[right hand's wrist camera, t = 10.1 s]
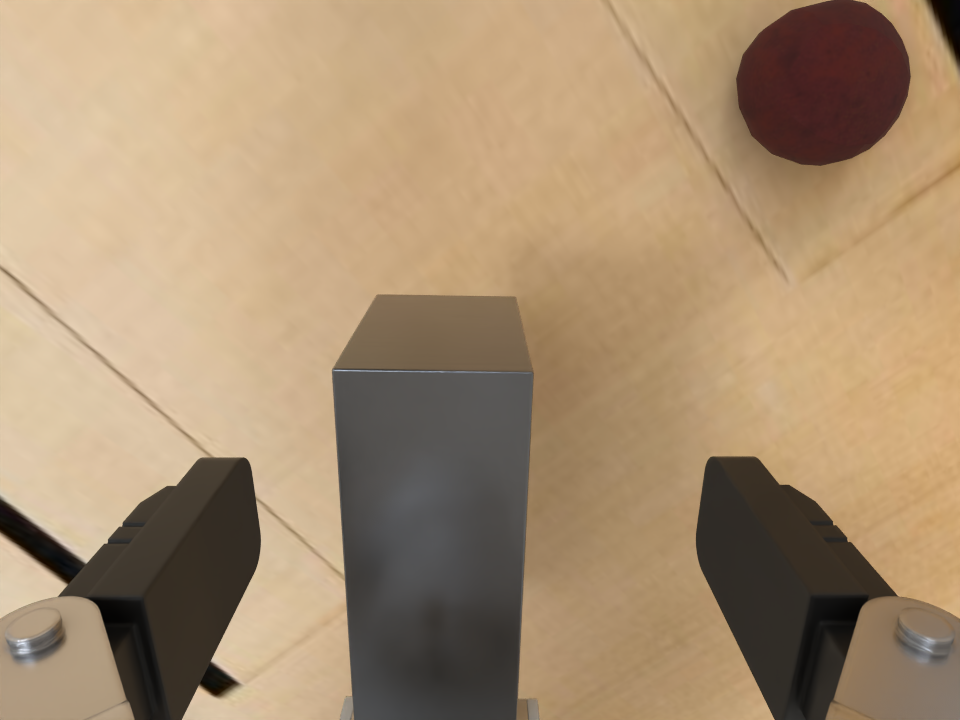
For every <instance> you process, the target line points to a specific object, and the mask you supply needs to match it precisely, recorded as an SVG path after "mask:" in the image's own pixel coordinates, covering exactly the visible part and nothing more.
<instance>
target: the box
mask: <svg viewBox="0 0 960 720" xmlns="http://www.w3.org/2000/svg"><path fill="white" fill-rule="evenodd" d="M533 378H534V373H533V368H532V364H531V360H530V355H529V351H528V347H527V342H526V338H525V334H524V329H523V325H522V321H521V316H520V312H519V308H518V303H517V299H516V297H499V296H438V295H376V297H375V298H374V300H373V302H372V304H371V305H370V307H369V309H368V310H367V312H366V314H365V315H364V317H363V319H362V320H361V322H360V324H359V325H358V327H357V329H356V330H355V332H354V334H353V335H352V337H351V339H350V340H349V342H348V344H347V345H346V347H345V349H344V350H343V352H342V354H341V355H340V357H339V359H338V361H337V362H336V364H335V366H334V367H333V369H332V380H333V396H334V412H335V428H336V444H337V460H338V476H339V492H340V508H341V523H342V539H343V555H344V571H345V587H346V603H347V619H348V635H349V651H350V667H351V683H352V699H353V715H354V720H517V704H518V683H519V663H520V643H521V622H522V602H523V581H524V561H525V541H526V520H527V500H528V480H529V459H530V439H531V418H532V398H533Z"/></svg>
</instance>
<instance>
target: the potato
mask: <svg viewBox="0 0 960 720" xmlns="http://www.w3.org/2000/svg"><path fill="white" fill-rule="evenodd" d="M910 77H911V76H910V66H909V57H908V54H907V52H906V49H905V46H904V44H903V41H902V39H901V37H900V36H899V34H898V32H897V31H896V29H895V28H894V26H893V24H892V23H891V22H890V21H889V20H888V19H887V18H886V17H885V16H884V15H882V14H881V13H880V12H878V11H877V10H875V9H874V8H872V7H871V6H869V5H868V4H866V3H863V2H858V1H854V0H831V1H826V2H822V3H818V4H814V5H810V6H806V7H802V8H798V9H794V10H791V11H790V12H788V13H787V14H785V15H784V16H782V17H781V18H780V19H778V20H777V21H775V22H774V23H772V24H771V25H769V26H768V27H767V28H765V29H764V30H763V31H762V32H760V33H759V34H758V36H757V37H756V38H755V40H754V41H753V42H752V44H751V45H750V46H749V47H748V49H747V50H746V51H745V53H744V54H743V56H742V60H741V64H740V67H739V71H738V74H737V78H736V80H737V91H738V102H739V108H740V110H741V112H742V115H743V117H744V119H745V121H746V124H747V126H748V128H749V130H750V133H751V135H752V136H753V137H754V138H755V139H756V140H757V141H758V142H759V143H760V144H762V145H763V146H764V147H765V148H766V149H767V150H768V151H769V152H770V153H772V154H774V155H776V156H779V157H782V158H785V159H788V160H791V161H794V162H796V163H799V164H804V165H819V166H821V165H826V164H830V163H834V162H839V161H843V160H847V159H850V158H853V157H855V156H857V155H859V154H861V153H863V152H864V151H866V150H868V149H870V148H871V147H872V146H873V145H874V144H876V143H877V142H878V141H879V140H880V139H881V138H882V137H884V136H885V135H886V133H887V132H888V131H889V129H890V128H891V127H892V125H893V124H894V123H895V121H896V120H897V119H898V117H899V115H900V113H901V110H902V108H903V106H904V103H905V101H906V98H907V96H908V90H909V83H910Z"/></svg>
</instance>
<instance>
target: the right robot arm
mask: <svg viewBox="0 0 960 720" xmlns="http://www.w3.org/2000/svg"><path fill="white" fill-rule="evenodd" d="M260 546H261V535H260V527H259V519H258V512H257V505H256V498H255V491H254V484H253V477H252V470H251V466H250V463H249V461H248V460H247V459H246V458H200V459H198V460H197V461H196V463H195V464H194V465H193V466H192V468H191V469H190V470H189V471H188V472H187V474H186V475H185V476H184V477H183V479H182V480H181V481H180V482H179V483H178V485H177V486H166V487H165V488H163V489H162V490H160V491H159V492H157V493H155V494H154V495H152V496H151V497H149V498H147V499H146V500H144V501H143V502H141V503H140V504H139V505H138V506H137V507H136V508H135V509H134V511H133V512H132V513H131V514H130V515H129V516H128V517H127V518H126V520H125V521H124V522H123V526H122V527H119V528H118V529H117V530H116V531H115V532H114V533H113V534H112V536H111V537H110V538H109V539H108V544H104V545H103V546H102V547H101V548H100V549H99V550H98V552H97V553H96V554H95V555H94V556H93V557H92V558H91V559H90V561H89V562H88V563H87V564H86V565H85V566H84V567H83V569H82V570H81V571H80V572H79V573H78V574H77V575H76V577H75V578H74V579H73V580H72V581H71V582H70V583H69V585H68V586H67V587H66V588H65V589H64V590H63V591H62V592H61V594H60V595H59V596H58V597H55V598H50V599H45V600H41V601H38V602H35V603H32V604H29V605H27V606H24V607H22V608H19V609H17V610H15V611H13V612H11V613H9V614H8V615H6V616H4V617H3V618H1V619H0V720H182V718H183V716H184V714H185V712H186V710H187V708H188V706H189V704H190V702H191V700H192V698H193V696H194V694H195V692H196V690H197V688H198V686H199V684H200V682H201V679H202V677H203V675H204V673H205V671H206V669H207V667H208V665H209V663H210V661H211V659H212V657H213V655H214V653H215V651H216V649H217V647H218V645H219V643H220V641H221V639H222V637H223V635H224V633H225V631H226V629H227V627H228V625H229V623H230V621H231V619H232V617H233V615H234V613H235V611H236V609H237V607H238V605H239V603H240V601H241V599H242V597H243V595H244V593H245V590H246V588H247V586H248V584H249V582H250V580H251V578H252V576H253V574H254V572H255V570H256V567H257V564H258V560H259V555H260ZM696 549H697V556H698V560H699V564H700V567H701V570H702V572H703V574H704V576H705V578H706V580H707V582H708V584H709V586H710V588H711V590H712V592H713V594H714V596H715V598H716V600H717V602H718V605H719V607H720V609H721V611H722V613H723V615H724V617H725V619H726V621H727V623H728V625H729V627H730V629H731V631H732V633H733V635H734V637H735V639H736V641H737V643H738V645H739V648H740V650H741V652H742V654H743V656H744V658H745V660H746V662H747V664H748V666H749V668H750V670H751V672H752V674H753V676H754V678H755V680H756V682H757V684H758V686H759V688H760V691H761V693H762V695H763V697H764V699H765V701H766V703H767V705H768V707H769V709H770V711H771V713H772V715H773V717H774V719H775V720H960V619H959V618H957V617H956V616H954V615H952V614H951V613H949V612H947V611H945V610H943V609H941V608H938V607H936V606H933V605H931V604H928V603H925V602H922V601H919V600H915V599H910V598H905V597H898V596H897V595H896V593H895V592H894V591H893V590H892V589H891V588H890V586H889V585H888V584H887V583H886V582H885V581H884V580H883V578H882V577H881V576H880V575H879V574H878V573H877V572H876V570H875V569H874V568H873V567H872V566H871V565H870V563H869V562H868V561H867V560H866V559H865V558H864V557H863V555H862V554H861V553H860V552H859V551H858V550H857V549H856V547H855V546H854V545H853V544H852V543H851V542H848V541H847V537H846V536H845V535H844V534H843V532H842V531H841V530H840V529H839V528H838V527H837V526H836V525H833V521H832V520H831V519H830V518H829V516H828V515H827V514H826V513H825V512H824V511H823V510H822V508H821V507H820V506H819V505H818V504H817V503H816V502H815V501H814V500H812V499H811V498H809V497H807V496H806V495H804V494H803V493H801V492H799V491H798V490H796V489H795V488H793V487H791V486H790V485H779V484H778V482H777V481H776V480H775V479H774V477H773V476H772V475H771V474H770V472H769V471H768V470H767V469H766V468H765V466H764V465H763V464H762V463H761V461H760V460H759V459H758V458H756V457H710V458H709V460H708V461H707V464H706V467H705V473H704V480H703V487H702V494H701V501H700V509H699V516H698V523H697V531H696Z"/></svg>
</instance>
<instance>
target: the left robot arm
mask: <svg viewBox="0 0 960 720" xmlns="http://www.w3.org/2000/svg"><path fill="white" fill-rule="evenodd" d="M340 720H354V715H353V699H352V696H346V697H345V699H344V704H343V708H342V712H341V716H340ZM517 720H540V719H539V709H538V700H537V699H518V704H517Z"/></svg>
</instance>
